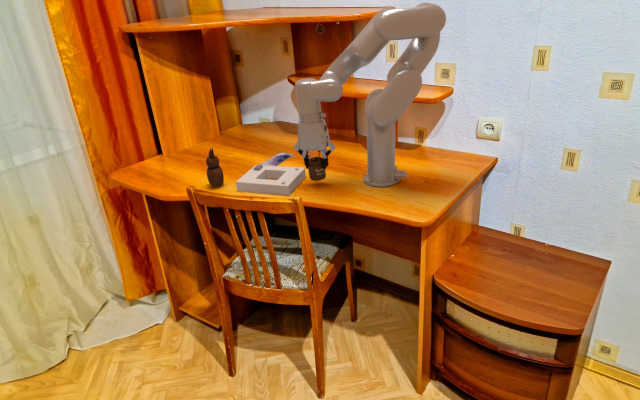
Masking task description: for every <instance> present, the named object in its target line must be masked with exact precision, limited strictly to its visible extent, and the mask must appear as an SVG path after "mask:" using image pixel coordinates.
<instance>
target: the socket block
mask: <svg viewBox="0 0 640 400" xmlns="http://www.w3.org/2000/svg"><path fill="white" fill-rule="evenodd" d="M306 177H307V175H306V167H294V166H281V165H279V166H278V165H277V166H266V165H260V164H255V165H253V167H251V168H250V169H249V170H248V171H247V172H246V173H244V174H243V175H242V176H241V177H240V178H239V179H237V180H236V181H235V187H236V192H245V193H247V192H248V193H259V194H267V195H268V194H269V195H278V196H279V195H281V196H290V195H291V194H292V192H294V190H296V188H297V187H298V186H299V185H300V184H301V182H302V181H304V180H305V178H306Z"/></svg>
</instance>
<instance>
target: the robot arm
mask: <svg viewBox="0 0 640 400" xmlns="http://www.w3.org/2000/svg"><path fill="white" fill-rule="evenodd" d="M446 22H447V15H446V13H445V11H444V9H443V8H442V7H441V6H440V5H438V4H436V3H435V4H434V3H430V2H422V3H419V4H416V6H413V7H405V8H394V7H384V8H381V9H380V10H379V11H377V13H376V14H375V15H374V16H373V17H372V18H371V19H370V20H369V22H368V23H367V24H366V25H365V26H364V27H363V29H362V30H361V31H360V32H359V33H358V34H357V36H356V37H355V38H354V39H353V40H352V41H351V42H350V44H348V46H346V48H345V49H344V50H343V52H342V53H340V54H339V56H338V57H336V58H335V60H334V61H333V62H332V63H331V64H330V66H328V68H327V69H326V70H325V72H324V73H323V74H322V75H321V77H320V78H319V80H317V79H316V78H313V77H307V78H301V79H299V80H297V81H295V84H294V90H295V96H296V97H295V98H296V102H297V111H298V119H299V121H298V122H297V141H296V143H295V144H294V146H293V149H294V150H295V151H296V152H297V153H298V154H299V155H300V156H301V158H303V164H304V166H305V170H306V169H307V170H308V165H309V163H308V160H309V159H310V158H311V155H310V154H309V152H313V151H314V152H318V151H320V154H321V156H322V165H323V169H325V170H326V169H327V168H328V166H329V165H330V164H329V155H330V154H332V153H333V151H335V149H336V148H337V146H336V144H334V143H333V142H332V141H331V140H330V135H329V134H330V133H329V130H328V126H327V125H328V124H327V122H326V119H324V118H326V117H327V114H326V113H325V112H323V111H322V105H321V104H322V103H321V102H324V103H328V102H329V103H331V102H332V103H333V102H336V101H338V100H339V99H341V97H342V95H343V93H344V87H343V85H345V83H347V81H348V80H349V79H350V78H351V76H352V75H354V74H355V73H356V72H357V71H358V70H360V69H362V68H363V67H366V66H368V65H370V63H372V62H373V61H374V59H375V58H376V57H377V56H378V54H380V53H381V52H382V50H383V49H384V48H385V47H386V46H387V45H388V44H389V42H390V41H403V40H410V41H409V44H408V45H407V47H406V49H405V50H404V51H403V53H402V54H401V55H400V56H399V57H398V59H397V60H396V62H395V63H394V64H393V65H392V67H391V68H390V69H389V70H388V73H387V75H386V82H387V84H386V85H385V86H384V88H377V89H376V88H375V89H373V90H372V91H371V92H370V93H369V94H368V95H367V97H366V98H365V103H364V110H365V111H364V112H365V113H364V114H365V123H366V127H365V128H366V154H367V158H366V159H367V173H365V174H364V176H363V182H364V184H367V185H368V186H371V187H376V188H377V187H378V188H379V187H380V188H382V187H383V188H384V187H391V186H393V185H396V184H398V183H399V181H400V179H401V178H402V179H408V176H409V175H408V174H409V173H408V172H406V170H403V169H402V170H399V168H398V165H396V122H397V121H398V120H399V119H400V118H401V116H402V115H403V114H404V113H405V111H406V110H407V109H408V108H409V106H410V105H411V104H412V103H413V101H414V100H415V99H416V98H417V96H418V95H419V93H420V91H421V89H422V85H423V78H422V73H423V72H424V71H425V69H426V68H427V66H428V65H429V64H430V62H431V61H432V59H433V58H434V56H435V55H436V53H437V50H438V48H439V45H440V40H441V31H442V30H443V29H444V27H445V26H446V24H447V23H446ZM328 147H329V149H327V148H328ZM310 150H312V151H310ZM308 151H309V152H308ZM308 157H310V158H308Z"/></svg>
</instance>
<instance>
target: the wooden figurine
mask: <svg viewBox="0 0 640 400" xmlns="http://www.w3.org/2000/svg"><path fill="white" fill-rule="evenodd" d="M205 164H206V167H207V169H206V176H207V177H206V178H207V181H208V183H209V185H210V186H211V187H213V188H219V187H221V186H223V184H224V183H225V182H224V180H225V178H224V171H223V168H222V167H221V166H220V159H219V157H218V156H217V155H215V152H214V149H213V147H210V148H209V150H208V156H207V157H206V159H205Z"/></svg>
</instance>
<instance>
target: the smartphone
mask: <svg viewBox="0 0 640 400" xmlns="http://www.w3.org/2000/svg"><path fill="white" fill-rule="evenodd" d="M292 157H294V154H293V153H287V152H279V153H277V154H275V155H273V156H272V157H269V158H268V159H267V160H265V161H263V162H261V163H260V164H259V165H266V166H278V165H279V166H280V164H282V163H284V162H285V161H287V160H289V159H290V158H292Z"/></svg>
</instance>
